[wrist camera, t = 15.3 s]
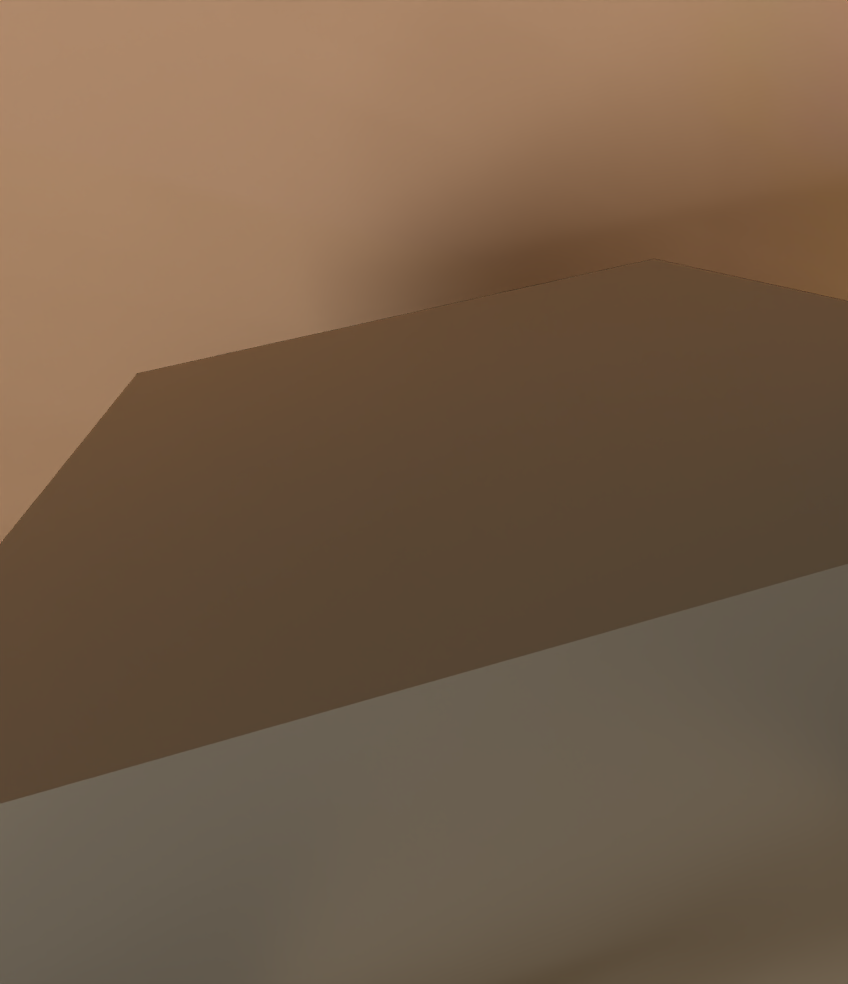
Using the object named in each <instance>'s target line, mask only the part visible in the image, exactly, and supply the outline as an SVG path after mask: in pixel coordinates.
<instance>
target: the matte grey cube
mask: <svg viewBox="0 0 848 984" xmlns="http://www.w3.org/2000/svg"><path fill="white" fill-rule="evenodd" d="M0 984H848V301H845V300H841V299H836V298H832V297H827V296H822V295H818V294H813V293H809V292H804V291H799V290H795V289H790V288H786V287H781V286H776V285H772V284H767V283H763V282H758V281H753V280H749V279H744V278H740V277H735V276H730V275H726V274H721V273H717V272H712V271H707V270H703V269H698V268H694V267H689V266H684V265H680V264H675V263H671V262H666V261H661V260H657V259H651V260H647V261H642V262H638V263H633V264H629V265H624V266H620V267H615V268H611V269H606V270H601V271H597V272H592V273H588V274H583V275H579V276H574V277H570V278H565V279H561V280H556V281H552V282H547V283H543V284H538V285H534V286H529V287H525V288H520V289H516V290H511V291H507V292H502V293H498V294H493V295H489V296H484V297H480V298H475V299H471V300H466V301H462V302H457V303H453V304H448V305H444V306H439V307H435V308H430V309H426V310H421V311H417V312H412V313H407V314H403V315H398V316H394V317H389V318H385V319H380V320H376V321H371V322H367V323H362V324H358V325H353V326H349V327H344V328H340V329H335V330H331V331H326V332H322V333H317V334H313V335H308V336H304V337H299V338H295V339H290V340H286V341H281V342H277V343H272V344H268V345H263V346H259V347H254V348H250V349H245V350H241V351H236V352H232V353H227V354H222V355H218V356H213V357H209V358H204V359H200V360H195V361H191V362H186V363H182V364H177V365H173V366H168V367H164V368H159V369H155V370H150V371H146V372H141V373H137V374H136V376H135V377H134V378H133V379H132V381H131V382H130V383H129V384H128V386H127V387H126V388H125V389H124V391H123V392H122V393H121V394H120V395H119V397H118V398H117V399H116V400H115V402H114V403H113V404H112V405H111V407H110V408H109V409H108V410H107V412H106V413H105V414H104V415H103V417H102V418H101V419H100V420H99V422H98V423H97V424H96V425H95V427H94V428H93V429H92V430H91V432H90V433H89V434H88V435H87V437H86V438H85V439H84V440H83V442H82V443H81V444H80V445H79V446H78V448H77V449H76V450H75V451H74V453H73V454H72V455H71V456H70V458H69V459H68V460H67V461H66V463H65V464H64V465H63V466H62V468H61V469H60V470H59V471H58V473H57V474H56V475H55V476H54V478H53V479H52V480H51V481H50V483H49V484H48V485H47V486H46V488H45V489H44V490H43V491H42V493H41V494H40V495H39V496H38V498H37V499H36V500H35V501H34V502H33V504H32V505H31V506H30V507H29V509H28V510H27V511H26V512H25V514H24V515H23V516H22V517H21V519H20V520H19V521H18V522H17V524H16V525H15V526H14V527H13V529H12V530H11V531H10V532H9V534H8V535H7V536H6V537H5V539H4V540H3V541H2V542H1V544H0Z"/></svg>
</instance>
